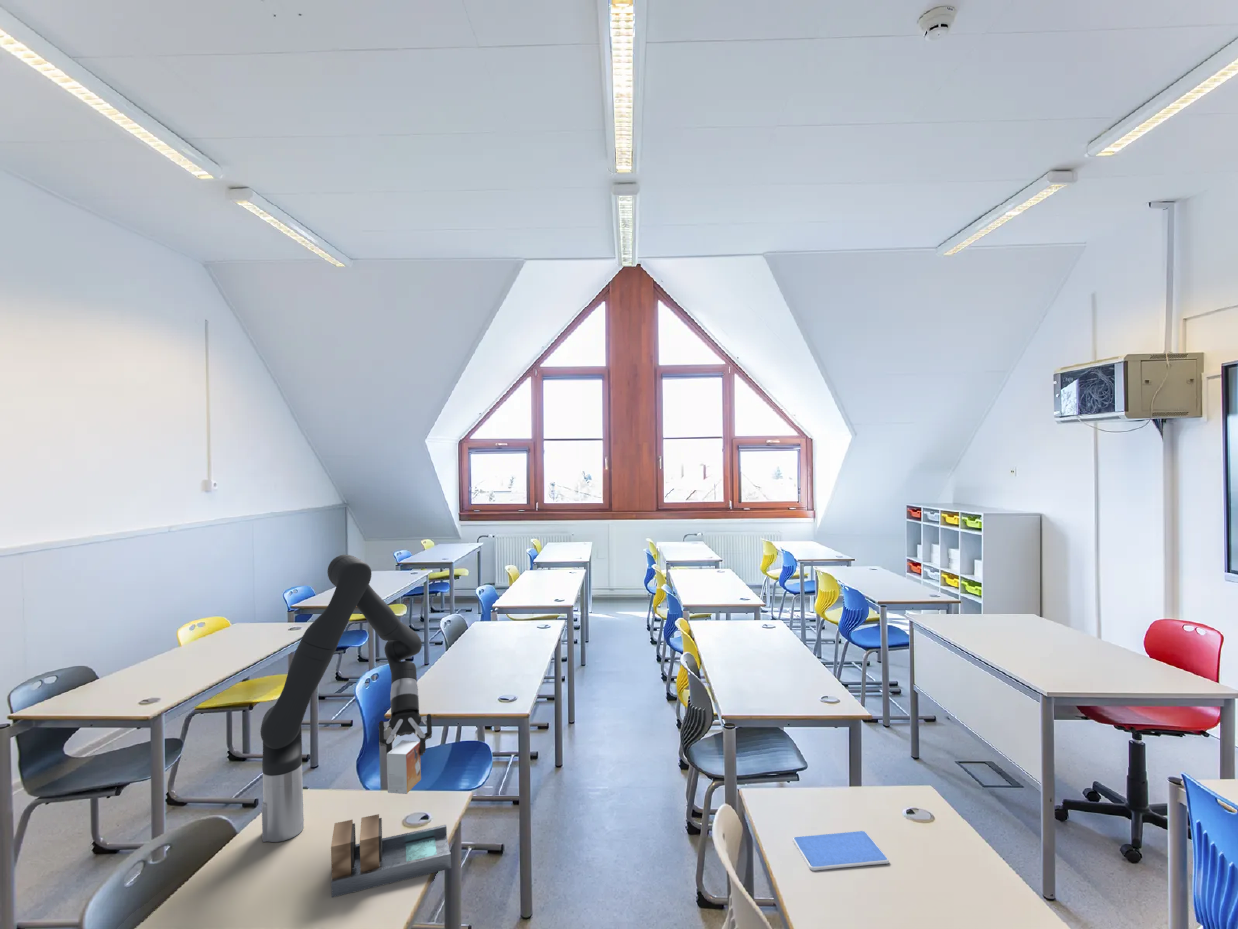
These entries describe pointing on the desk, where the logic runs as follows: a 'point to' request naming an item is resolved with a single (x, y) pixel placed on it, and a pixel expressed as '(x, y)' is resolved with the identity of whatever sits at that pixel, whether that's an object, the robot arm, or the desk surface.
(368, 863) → the twin brown uprights
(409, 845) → the grey shallow tray
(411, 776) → the small box
